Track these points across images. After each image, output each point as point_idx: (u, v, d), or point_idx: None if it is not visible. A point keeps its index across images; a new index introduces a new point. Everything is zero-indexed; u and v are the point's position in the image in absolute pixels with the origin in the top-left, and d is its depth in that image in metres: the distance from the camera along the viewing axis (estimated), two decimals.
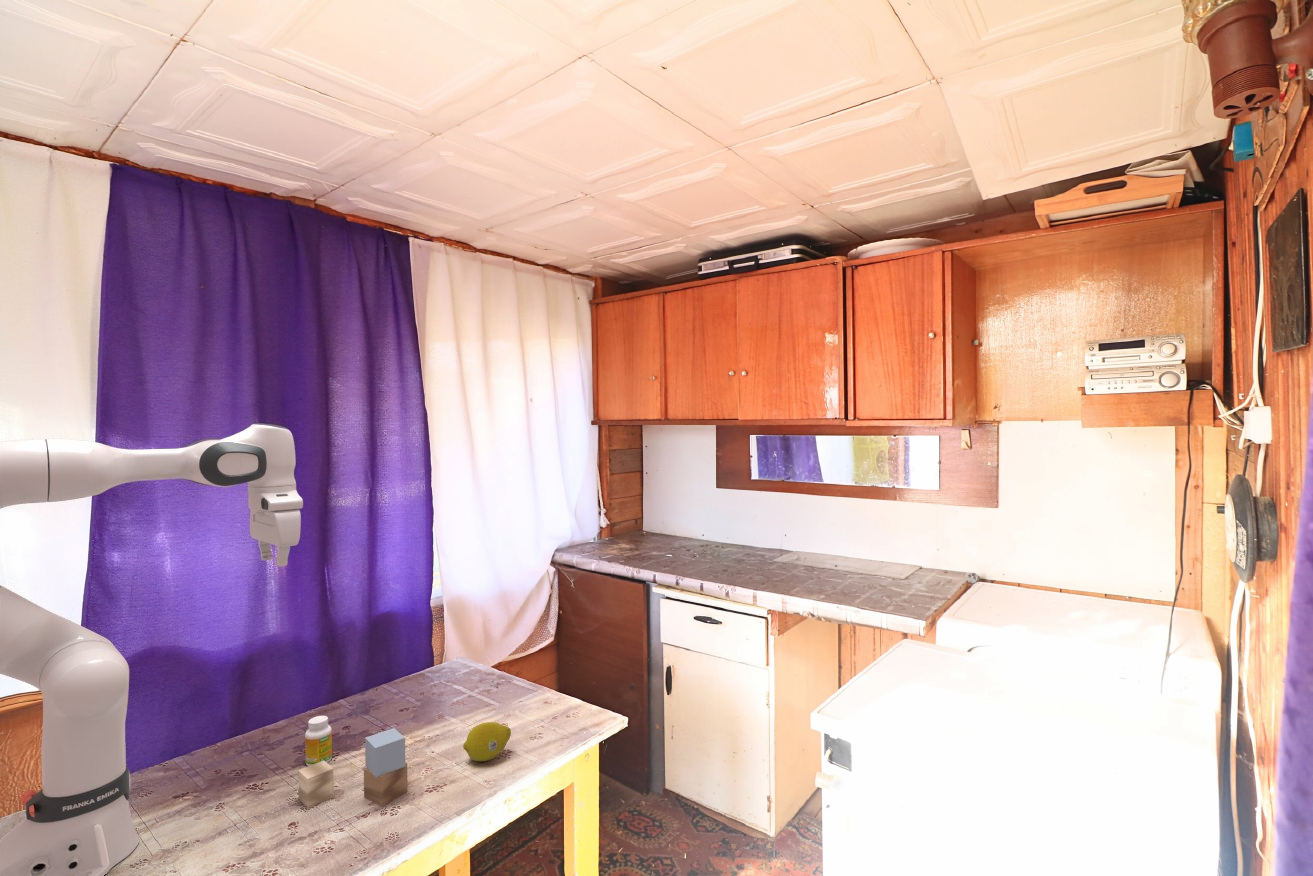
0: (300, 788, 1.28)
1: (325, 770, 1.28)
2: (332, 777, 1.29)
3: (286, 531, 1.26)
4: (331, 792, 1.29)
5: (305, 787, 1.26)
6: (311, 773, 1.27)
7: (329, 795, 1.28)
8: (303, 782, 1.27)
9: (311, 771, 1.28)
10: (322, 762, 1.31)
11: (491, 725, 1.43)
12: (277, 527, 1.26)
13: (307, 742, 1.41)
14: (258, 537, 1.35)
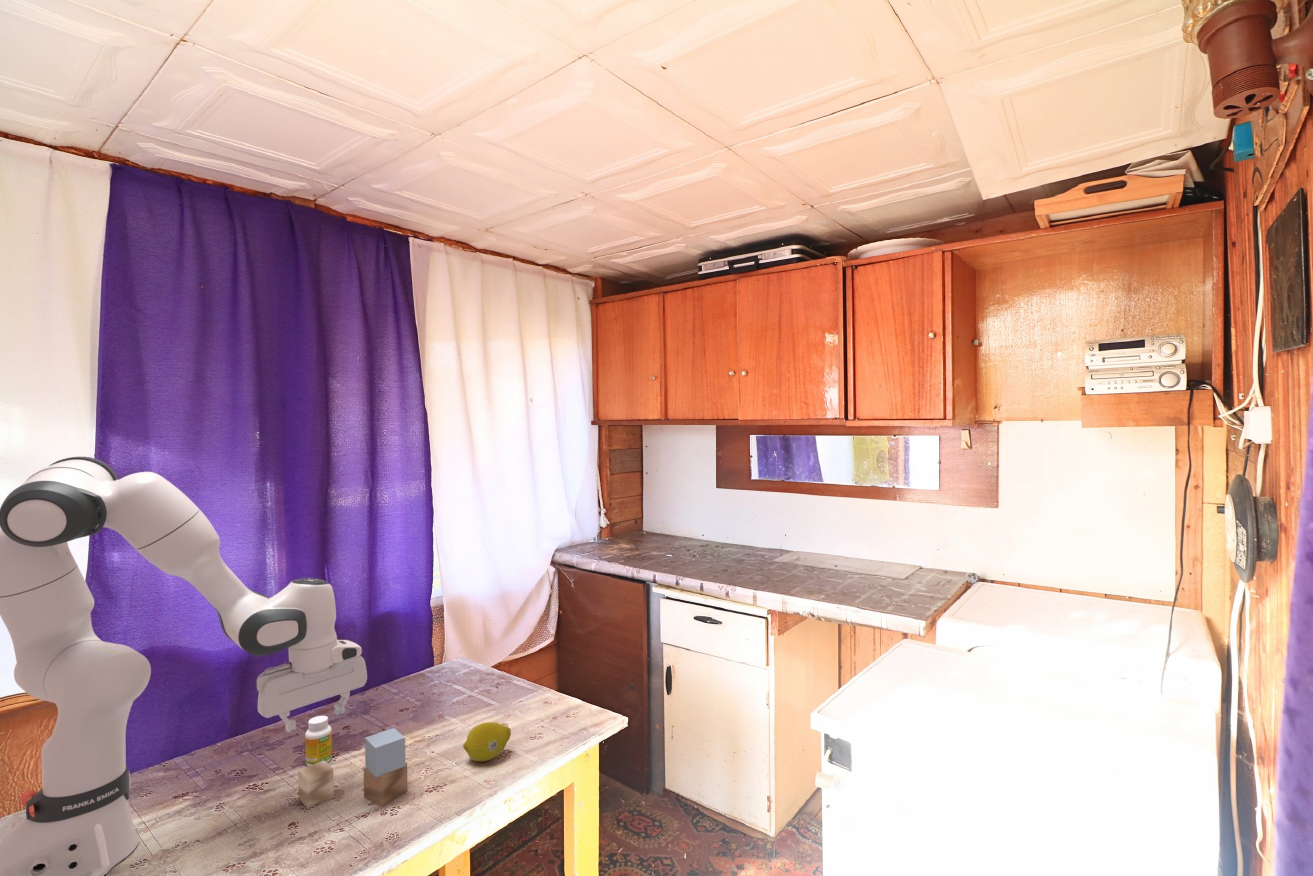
0: (300, 788, 1.28)
1: (325, 770, 1.28)
2: (332, 777, 1.29)
3: None
4: (331, 792, 1.29)
5: (305, 787, 1.26)
6: (311, 773, 1.27)
7: (329, 795, 1.28)
8: (303, 782, 1.27)
9: (311, 771, 1.28)
10: (322, 762, 1.31)
11: (491, 725, 1.43)
12: (365, 667, 1.34)
13: (307, 742, 1.41)
14: (299, 704, 1.25)
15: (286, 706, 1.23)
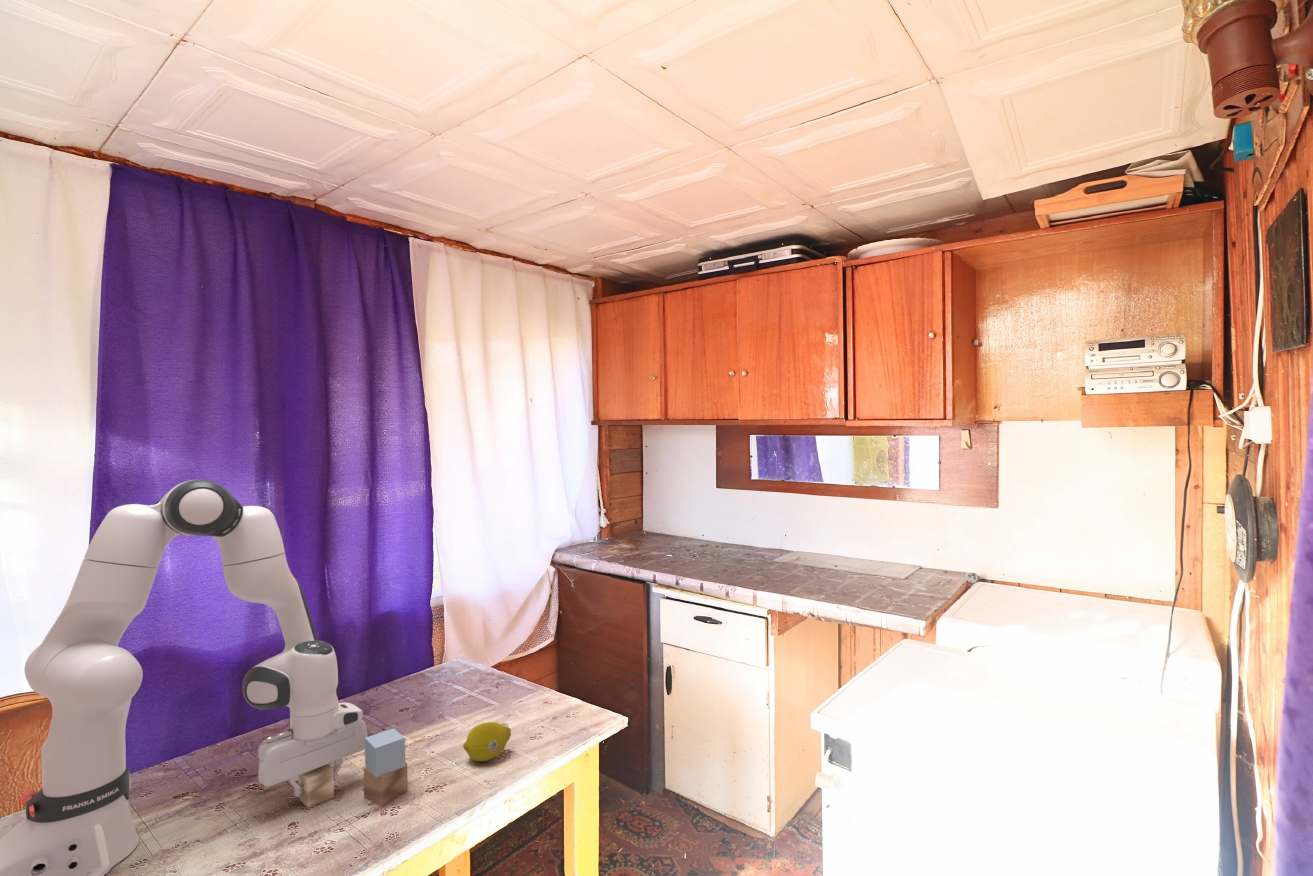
0: None
1: (325, 770, 1.28)
2: (332, 777, 1.29)
3: None
4: (331, 791, 1.29)
5: (305, 787, 1.26)
6: (311, 772, 1.27)
7: (329, 795, 1.28)
8: (303, 781, 1.27)
9: (311, 770, 1.28)
10: None
11: (491, 725, 1.43)
12: (366, 731, 1.34)
13: None
14: (299, 772, 1.25)
15: (287, 774, 1.23)
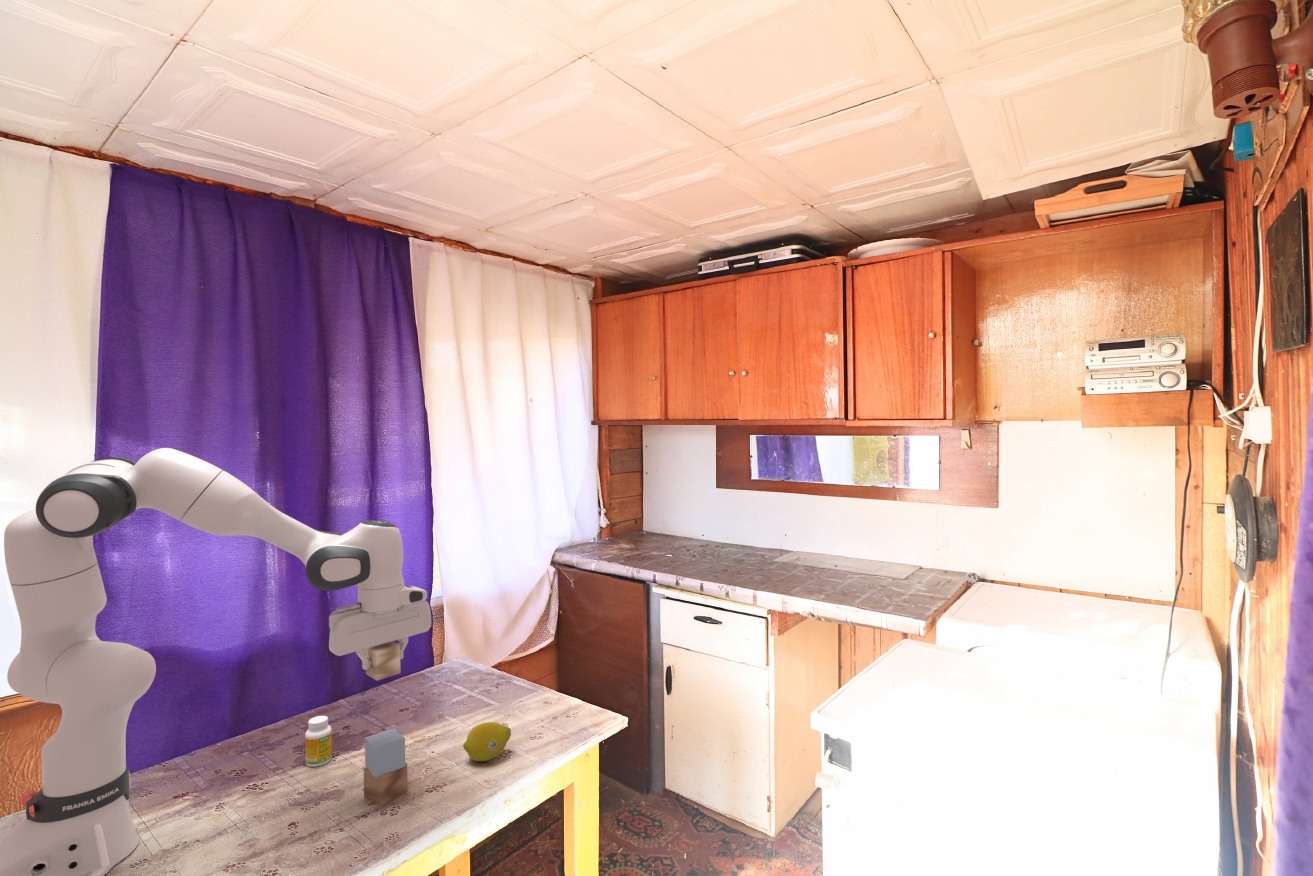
0: None
1: (392, 645, 1.29)
2: (399, 653, 1.29)
3: None
4: (398, 667, 1.29)
5: (373, 661, 1.26)
6: (378, 647, 1.28)
7: (396, 670, 1.29)
8: (371, 656, 1.27)
9: (378, 646, 1.29)
10: None
11: (491, 725, 1.43)
12: (429, 612, 1.35)
13: (307, 742, 1.41)
14: (368, 645, 1.25)
15: (357, 645, 1.23)
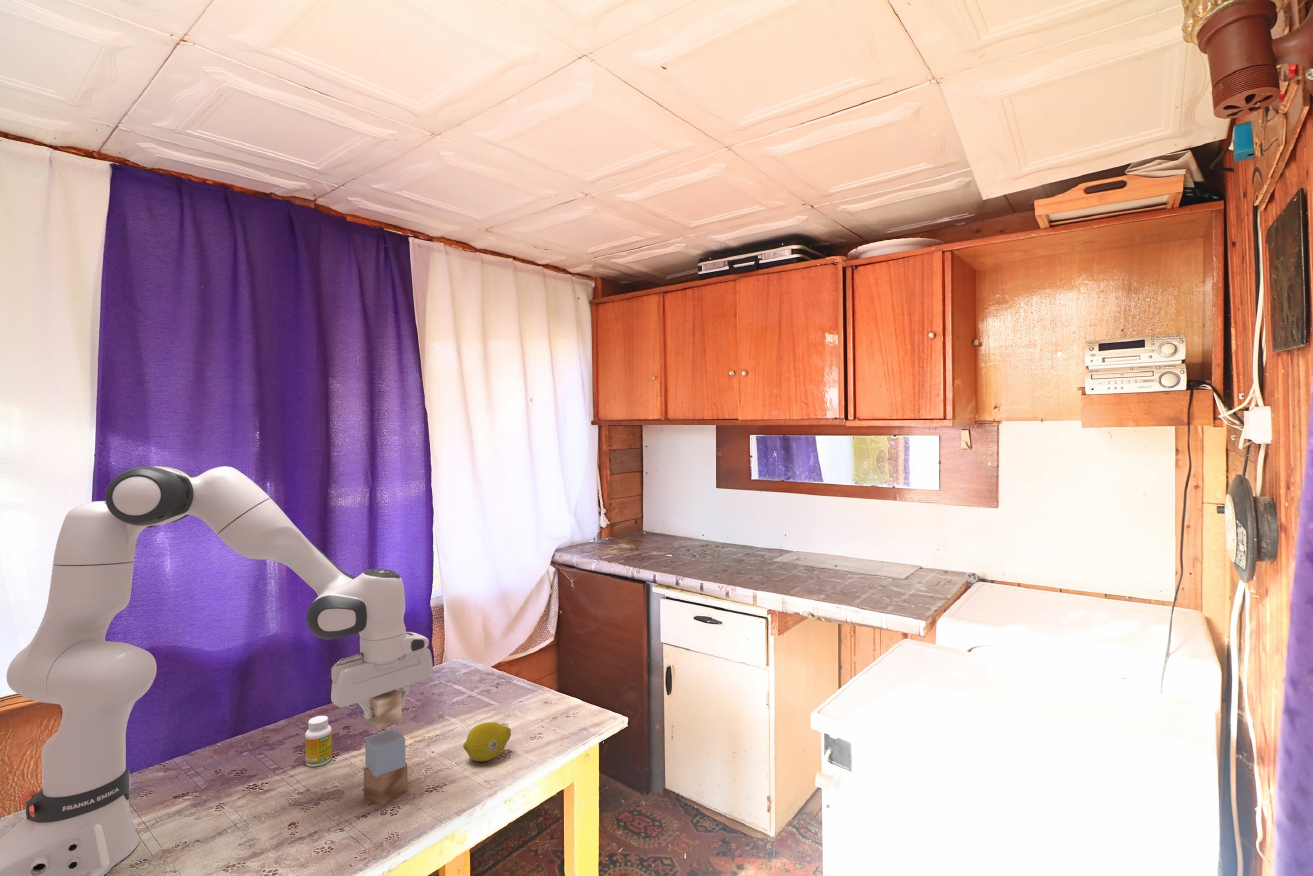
0: None
1: (394, 694, 1.29)
2: (400, 702, 1.30)
3: None
4: (399, 716, 1.30)
5: (375, 710, 1.27)
6: (380, 697, 1.28)
7: (397, 719, 1.29)
8: (372, 705, 1.28)
9: (379, 695, 1.29)
10: None
11: (491, 725, 1.43)
12: (431, 659, 1.35)
13: (307, 742, 1.41)
14: (370, 695, 1.26)
15: (359, 696, 1.24)
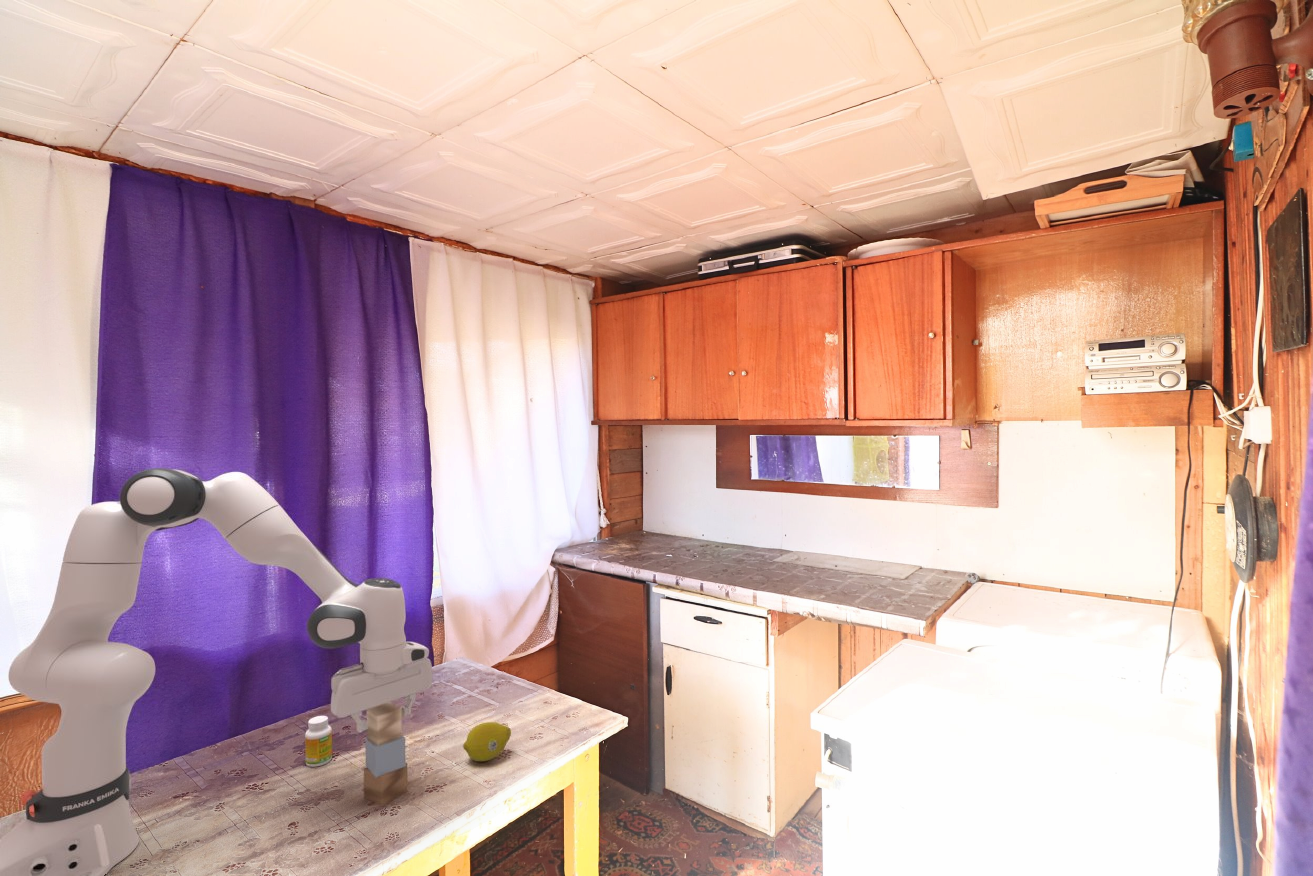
0: (369, 727, 1.29)
1: (393, 709, 1.29)
2: (400, 716, 1.30)
3: None
4: (399, 731, 1.29)
5: (375, 725, 1.27)
6: (379, 712, 1.28)
7: (397, 734, 1.29)
8: (372, 720, 1.28)
9: (379, 710, 1.29)
10: (389, 703, 1.32)
11: (491, 725, 1.43)
12: (431, 669, 1.35)
13: (307, 742, 1.41)
14: (370, 705, 1.26)
15: (359, 706, 1.24)
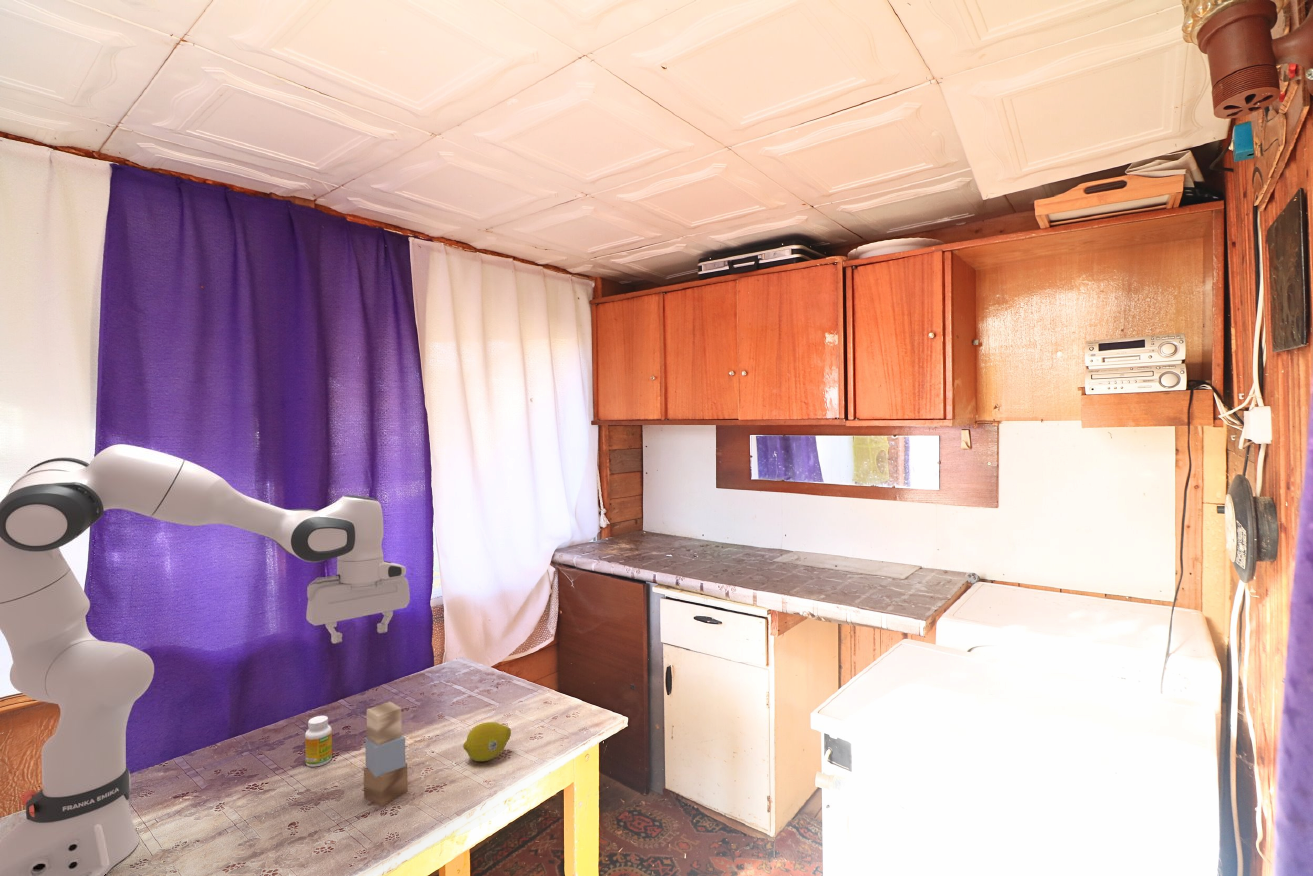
0: (369, 727, 1.29)
1: (393, 709, 1.29)
2: (400, 716, 1.30)
3: None
4: (399, 731, 1.29)
5: (375, 725, 1.27)
6: (379, 711, 1.28)
7: (397, 734, 1.29)
8: (372, 720, 1.28)
9: (379, 710, 1.29)
10: (389, 703, 1.32)
11: (491, 725, 1.43)
12: (408, 589, 1.37)
13: (307, 742, 1.41)
14: (346, 616, 1.27)
15: (334, 616, 1.25)
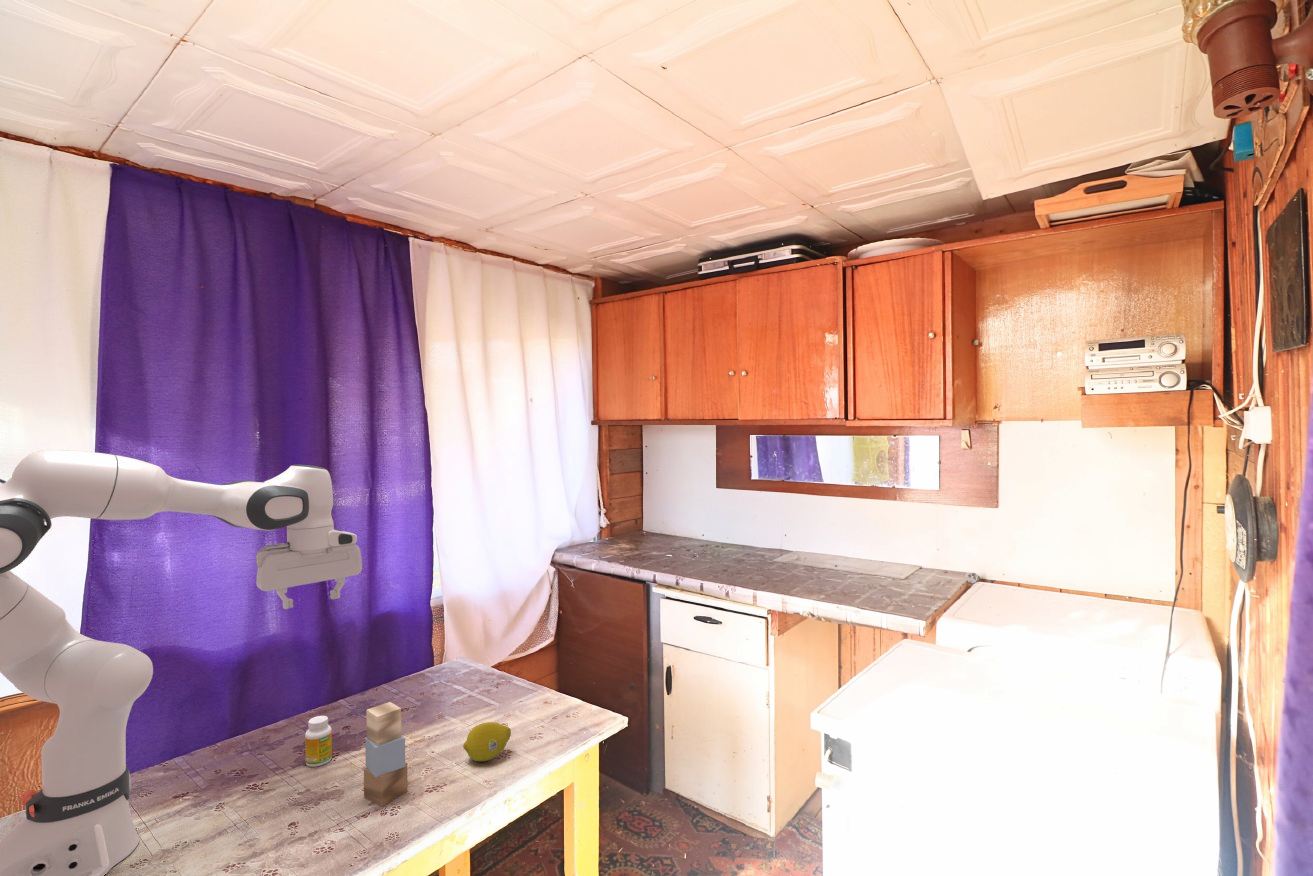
0: (368, 727, 1.29)
1: (393, 709, 1.29)
2: (400, 717, 1.30)
3: None
4: (399, 731, 1.29)
5: (375, 726, 1.27)
6: (379, 712, 1.28)
7: (397, 734, 1.29)
8: (372, 720, 1.28)
9: (379, 710, 1.29)
10: (389, 703, 1.32)
11: (491, 725, 1.43)
12: (360, 556, 1.39)
13: (307, 742, 1.41)
14: (296, 583, 1.30)
15: (284, 582, 1.28)
